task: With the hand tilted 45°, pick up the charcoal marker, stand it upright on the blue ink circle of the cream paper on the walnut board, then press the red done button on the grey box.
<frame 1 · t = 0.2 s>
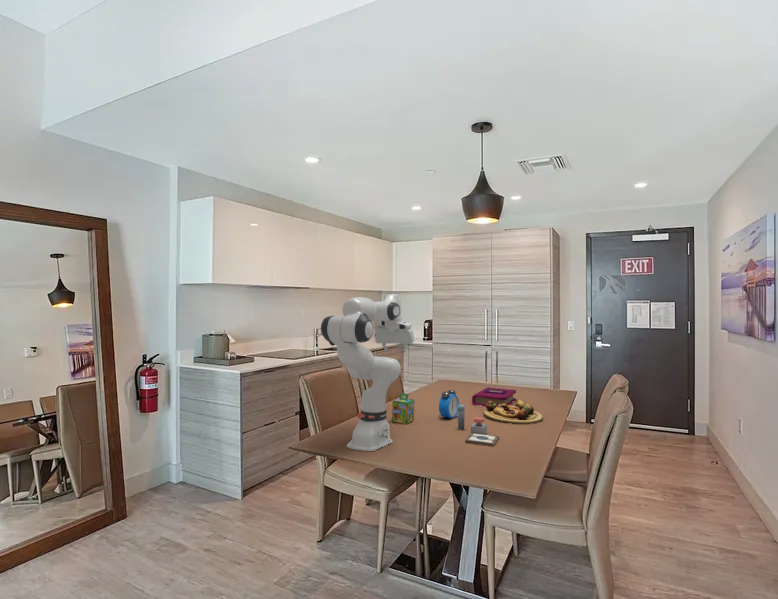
hand: (395, 352, 236), 39 cm above the table, tool pointing down, fingers open, 8 cm apart
book: (494, 403, 296), on the table
alarm clock: (448, 418, 258), on the table
button box: (478, 433, 227), on the table
done button: (478, 422, 227), point 6 cm above the table, slide at 0.0 cm
wooden plate with food: (512, 417, 260), on the table
chalk box: (403, 421, 249), on the table
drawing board: (482, 440, 216), on the table
marker: (461, 428, 235), on the table
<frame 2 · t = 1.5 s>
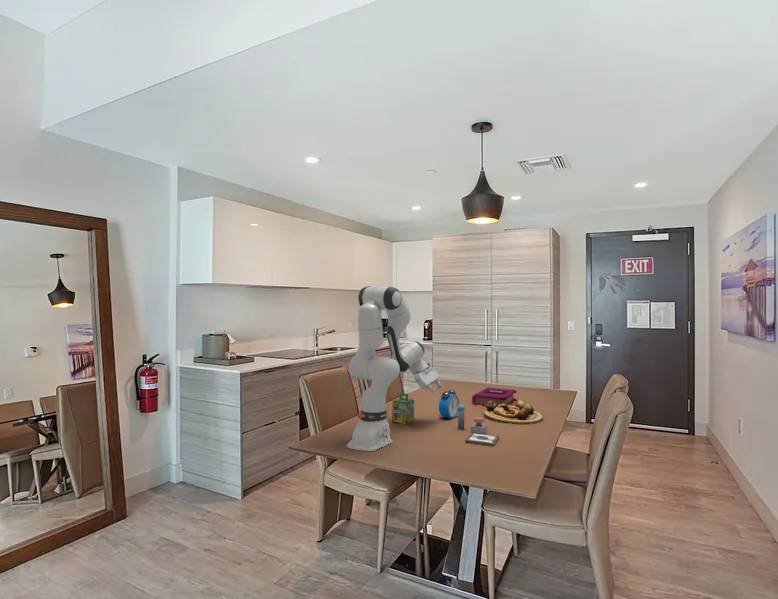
hand: (437, 389, 241), 19 cm above the table, tool tilted 45°, fingers open, 8 cm apart
nothing on the table moved.
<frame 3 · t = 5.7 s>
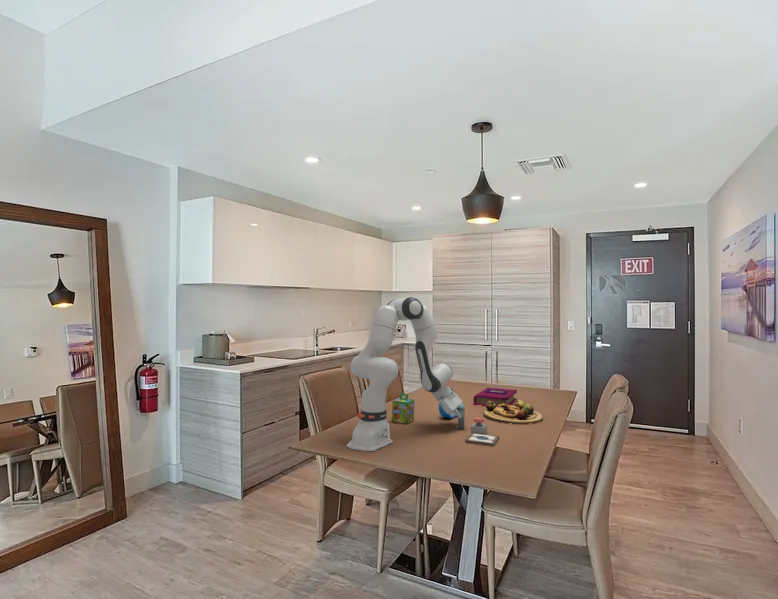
hand: (462, 416, 235), 7 cm above the table, tool tilted 45°, fingers closed on marker, 3 cm apart
marker: (461, 428, 235), on the table, touching gripper
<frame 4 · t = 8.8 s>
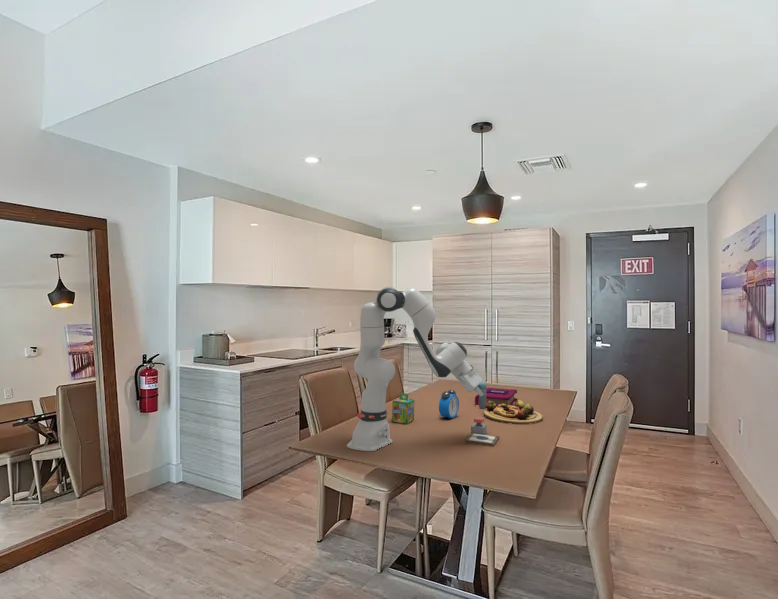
hand: (483, 394, 216), 21 cm above the table, tool tilted 45°, fingers closed on marker, 3 cm apart
marker: (482, 408, 216), point 15 cm above the table, touching gripper
when the fingers open (9 cm above the table, at t = 12.0 s): marker drops 1 cm, resting on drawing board.
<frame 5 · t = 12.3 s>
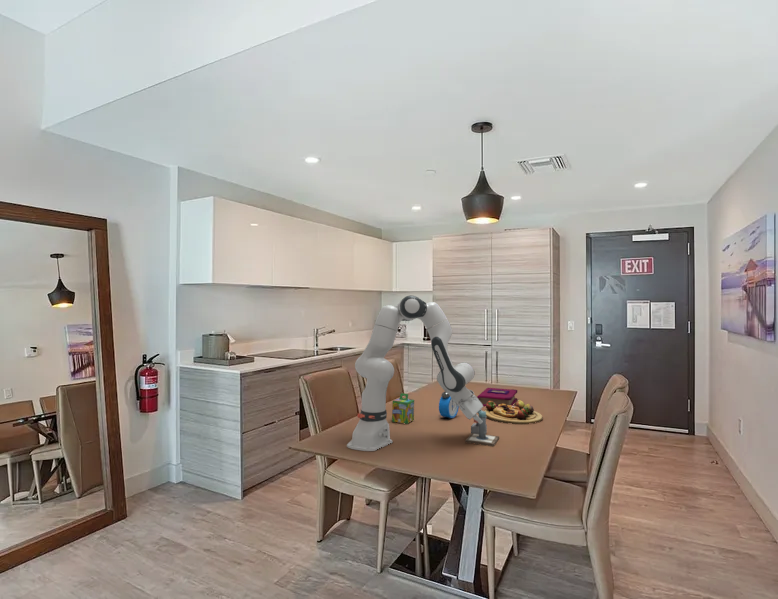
hand: (483, 420, 216), 9 cm above the table, tool tilted 45°, fingers open, 6 cm apart
marker: (482, 437, 216), point 1 cm above the table, touching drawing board
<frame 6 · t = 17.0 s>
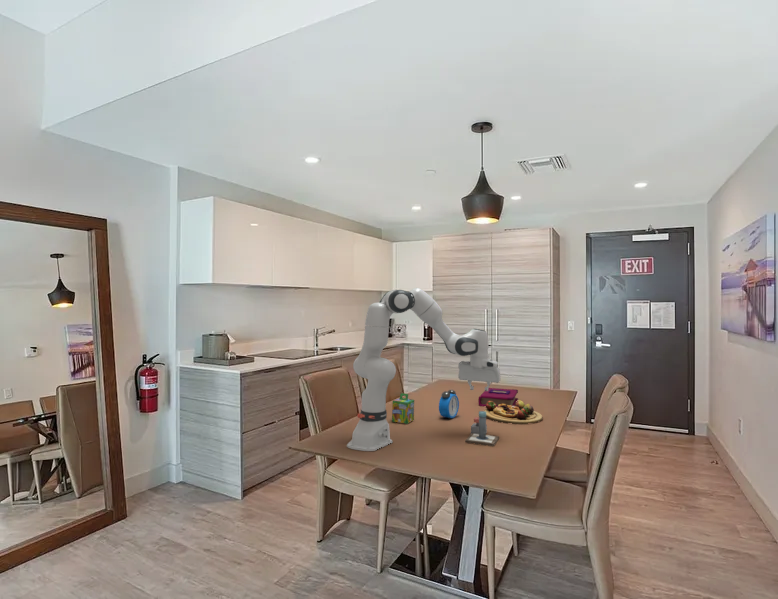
hand: (479, 390, 227), 21 cm above the table, tool pointing down, fingers open, 6 cm apart
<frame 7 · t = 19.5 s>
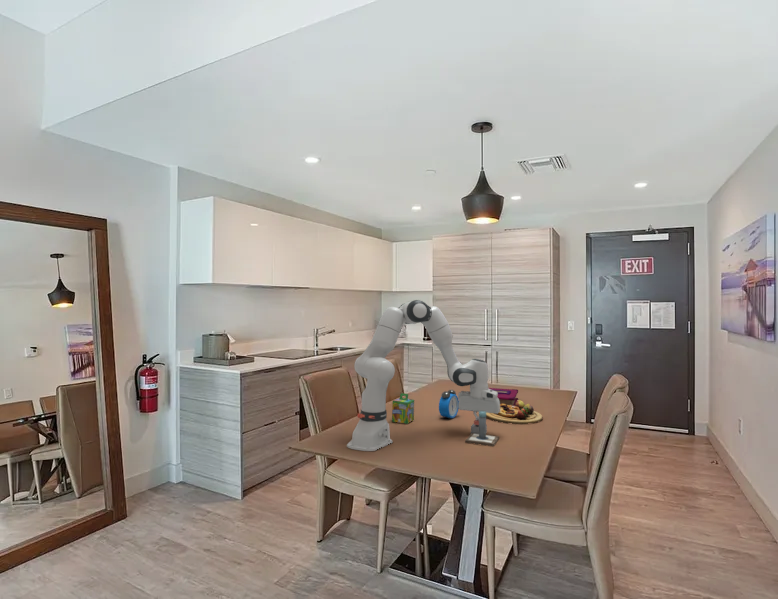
hand: (478, 420, 227), 6 cm above the table, tool pointing down, fingers closed, pressing on done button
done button: (478, 424, 227), point 4 cm above the table, slide at 1.1 cm, touching gripper
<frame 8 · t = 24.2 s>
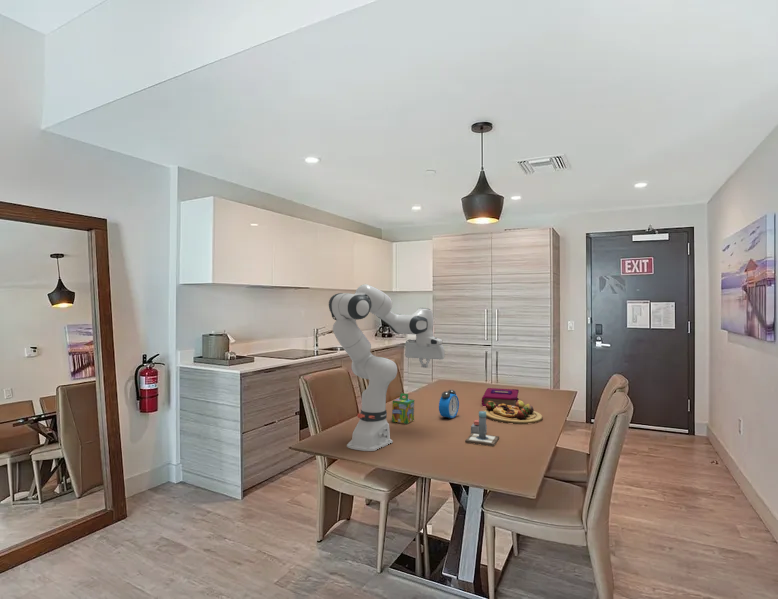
hand: (424, 367, 235), 31 cm above the table, tool pointing down, fingers closed
done button: (478, 424, 227), point 4 cm above the table, slide at 1.2 cm
at the end: marker 0.0 cm off-centre on the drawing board, point 1.3 cm above the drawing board's base; marker tilted 0°; done button slide at 1.2 cm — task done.
